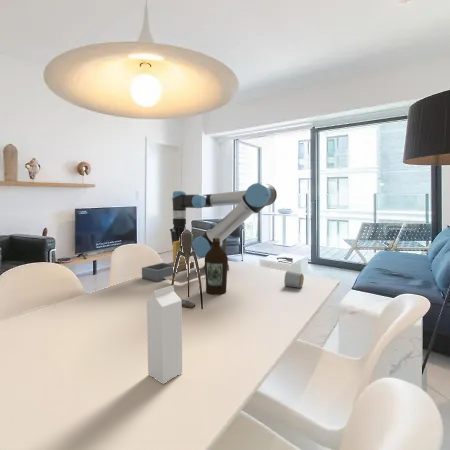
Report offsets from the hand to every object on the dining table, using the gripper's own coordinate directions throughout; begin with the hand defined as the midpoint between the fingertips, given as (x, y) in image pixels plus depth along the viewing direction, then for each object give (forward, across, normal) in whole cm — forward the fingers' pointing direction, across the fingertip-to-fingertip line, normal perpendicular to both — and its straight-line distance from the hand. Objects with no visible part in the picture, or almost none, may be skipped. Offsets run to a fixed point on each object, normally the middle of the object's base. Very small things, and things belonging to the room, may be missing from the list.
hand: (179, 257), depth 177 cm
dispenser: (+8, 0, 0) cm, 8 cm away
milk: (+8, +68, -79) cm, 105 cm away
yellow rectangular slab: (+6, 0, 0) cm, 6 cm away
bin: (+8, 0, -16) cm, 18 cm away
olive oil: (+8, +40, -19) cm, 45 cm away
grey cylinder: (+8, +66, +11) cm, 67 cm away
